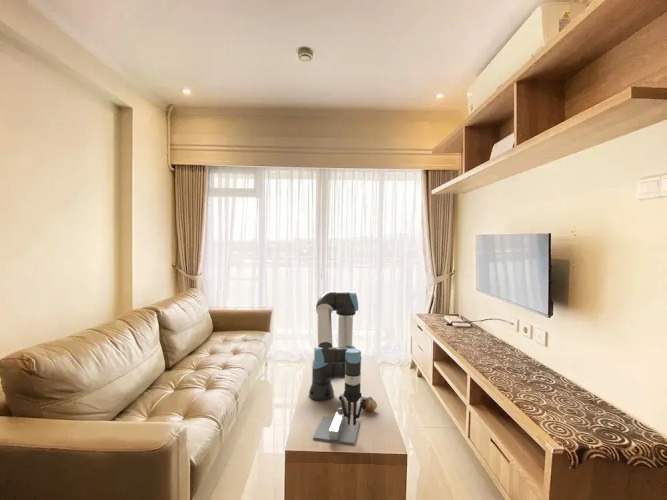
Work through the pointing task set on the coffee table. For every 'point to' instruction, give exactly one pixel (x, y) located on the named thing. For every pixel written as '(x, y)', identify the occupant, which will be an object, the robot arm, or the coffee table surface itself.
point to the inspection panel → (344, 435)
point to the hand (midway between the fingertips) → (351, 431)
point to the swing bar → (337, 424)
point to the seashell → (369, 404)
